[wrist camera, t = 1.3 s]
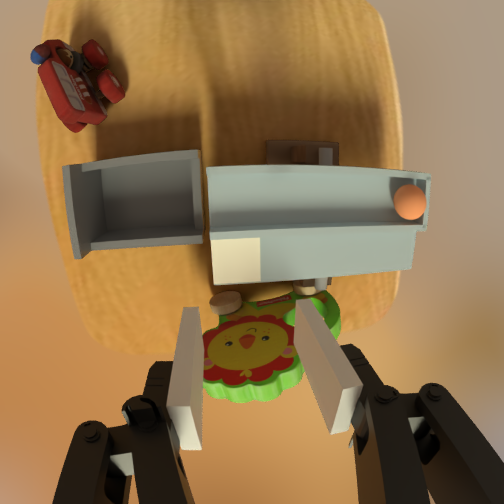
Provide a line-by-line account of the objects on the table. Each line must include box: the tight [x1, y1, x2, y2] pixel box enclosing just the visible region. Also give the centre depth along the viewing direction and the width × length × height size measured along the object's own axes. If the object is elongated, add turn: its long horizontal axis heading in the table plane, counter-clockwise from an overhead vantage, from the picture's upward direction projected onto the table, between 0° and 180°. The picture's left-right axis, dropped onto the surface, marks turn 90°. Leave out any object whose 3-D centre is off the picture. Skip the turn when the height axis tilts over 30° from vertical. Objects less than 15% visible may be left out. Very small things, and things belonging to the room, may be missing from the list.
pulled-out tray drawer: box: [62, 149, 205, 259], centre depth 26 cm, size 9×12×8 cm
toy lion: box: [202, 280, 341, 403], centre depth 28 cm, size 16×5×15 cm, turn 101°
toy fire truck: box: [31, 39, 125, 133], centre depth 20 cm, size 7×12×10 cm, turn 28°
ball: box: [393, 184, 427, 220], centre depth 23 cm, size 3×3×3 cm
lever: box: [206, 148, 431, 290], centre depth 24 cm, size 13×20×3 cm, turn 91°
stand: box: [266, 140, 339, 287], centre depth 29 cm, size 15×8×6 cm, turn 1°
